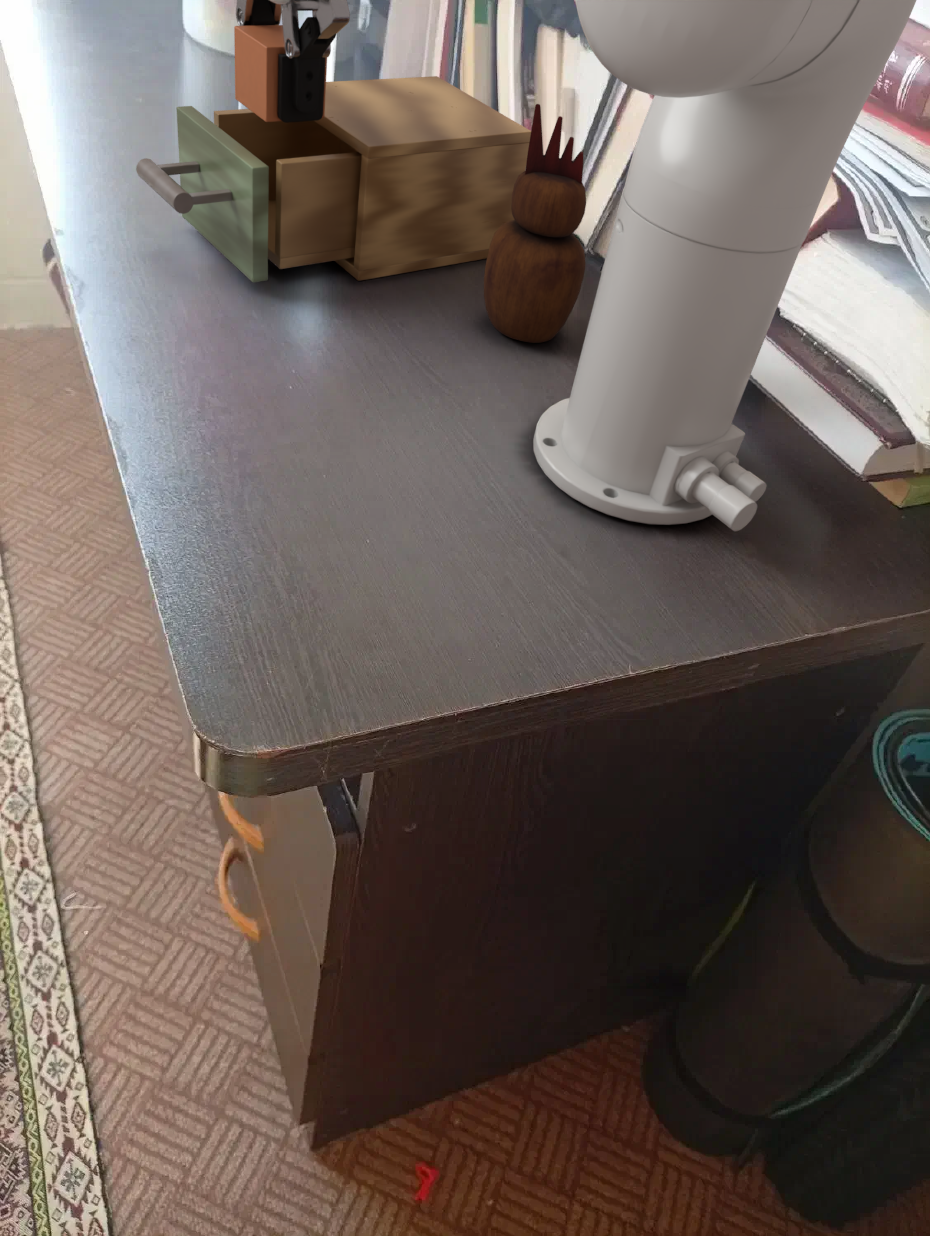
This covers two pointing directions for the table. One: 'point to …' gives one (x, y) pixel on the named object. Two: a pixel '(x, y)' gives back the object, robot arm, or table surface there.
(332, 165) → the drawer
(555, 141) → the wooden figurine
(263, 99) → the block
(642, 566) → the table surface
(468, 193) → the cabinet
